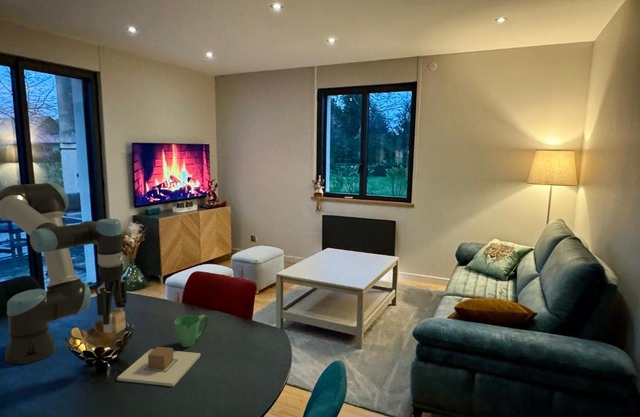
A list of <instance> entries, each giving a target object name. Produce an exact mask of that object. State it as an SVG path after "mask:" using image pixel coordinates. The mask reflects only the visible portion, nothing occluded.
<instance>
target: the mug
mask: <svg viewBox="0 0 640 417" xmlns="http://www.w3.org/2000/svg"><path fill="white" fill-rule="evenodd" d="M201 321H202V323H201ZM173 326H174V329H175V333H176V336H177V338H178V341H179V343H180V346H181V347H184V348H190V347H193V346H194V345H195V342H196V340H197V339H198V338H200V336H201V335H202V334H203V333H204V331H205V329H206V328H207V326H208V316H206V315H205V314H200V315H194V314H193V315H190V314H188V315H182V316H179V317H177V318H175V320H174V321H173Z"/></svg>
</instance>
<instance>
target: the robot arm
mask: <svg viewBox="0 0 640 417" xmlns="http://www.w3.org/2000/svg"><path fill="white" fill-rule="evenodd" d="M69 202H70V201H69V196H68V195H67V191H66V190H65V188H64V187H63V186H61V185H60V184H58V183H52V182H51V183H49V182H45V183H28V184H26V183H25V184H12V185H9V186H6V187H4V188H3V189H1V190H0V217H1V218H2V219H5V220H8V221H10V222H12V223H13V224H15V225H16V226H17V227H19V228H20V229H21V230H22V231H23V232H25V233H26V234H27V235H29V241H30V246H31V247H32V250H33V251H34V252H36V253H43V256H44V257H43V258H44V261H45V265H46V269H47V273H48V278H49V282H48V284H47V285H46V290H45V289H43V288H35V289H28V290H25V291H22V292H18V293H16V294H15V295H13V296H12V297H11V298H9V299H8V301H7V303H6V308H7V309H6V315H7V321H8V334H9V341H8V345H7V348H6V351H5V354H4V356H5V357H4V358H5V362H6V363H8V364H11V365H25V364H26V365H27V364H29V363H35V362H37V361H41V360H44V359H45V358H47V357H49V356H52V354H53V353H55V351H56V346H57V345H56V342H55V340H54V339H53V336H52V334H51V332H50V330H49V323H51V322H55V321H58V320H61V319H64V318H67V317H71V316H75V315H78V314H80V313H82V312H86V311H87V309H88V308H89V307H90V304H91V301H92V299H91V298H92V293H91V288H90V286H89V284H88V283H86V282H83V281H82V279H81V277H79V276H78V275H76V272H75V268H74V265H73V260H72V256H71V252H70V248H75V247H76V248H77V247H81V246H88V245H95V246H96V247H97V264H98V276H99V278H100V279H101V282H100V286H98V287H97V286H96V287H95V289H94V291H95V293H96V309H97V310H96V312H97V314H96V315H97V316H103V319H102V325H103V324H104V332H106V334H108V333H109V334H113V333H112V332H113V325H112V314H110V311H111V309H112V301H113V300H114V305H115V307H114V308H113V310H115V311H124V308H126V306H127V303H128V292H127V281H128V280H127V279H128V277H127V276H123V275H124V264H123V262H124V260H123V258H124V256H123V229H122V222H121V220H119V219H117V218H103V219H99V220H97V221H94V220H85V221H84V220H83V221H82V222H80V223H77V224H68V225H64V222H63V217H64V216H65V214H66V210H67V209H68V208H69ZM112 299H113V300H112ZM104 332H103V333H104Z"/></svg>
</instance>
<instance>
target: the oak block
mask: <svg viewBox="0 0 640 417" xmlns="http://www.w3.org/2000/svg"><path fill="white" fill-rule="evenodd" d="M110 314H112V325H113V332H112V333H111V334H118V333H119V332H121V331H122V330H124V329H125V328H126V327H127V325H126V312H125V310H123V311H115V310H114V309H113V310H110ZM102 320H103V316H102ZM102 329H103V330H102V332H103V333H106V332H104V324H103V323H102ZM106 334H107V333H106Z"/></svg>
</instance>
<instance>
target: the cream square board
mask: <svg viewBox="0 0 640 417" xmlns="http://www.w3.org/2000/svg"><path fill="white" fill-rule="evenodd" d="M200 357H201V353H200V352H190V351H189V352H188V351H181V350H178V351H177V350H174V348H173V347H165V346H156V347H155V348H150V349H149V350H148V351H146V352H145V353H144V354H142V356H141V357H140V358H138V359H137V360H135V361H134V363H133V364H132V365H130V366H129V367H128V368H126V369H125V370H124V371H123V372H122V373H121V374H119V375H118V376H117V377H116V380H117V381H120V382H129V383H140V384H147V385H158V386H165V387H174V386H175V385H176V384H177V383H178V382H179V381H180V380H181V379H182V377H183V376H184V375H185V374H186V373H187V372H188V371H189V369H190V368H192V366H193V365H194V364H195V362H197V361H198V360H199V358H200Z"/></svg>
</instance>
